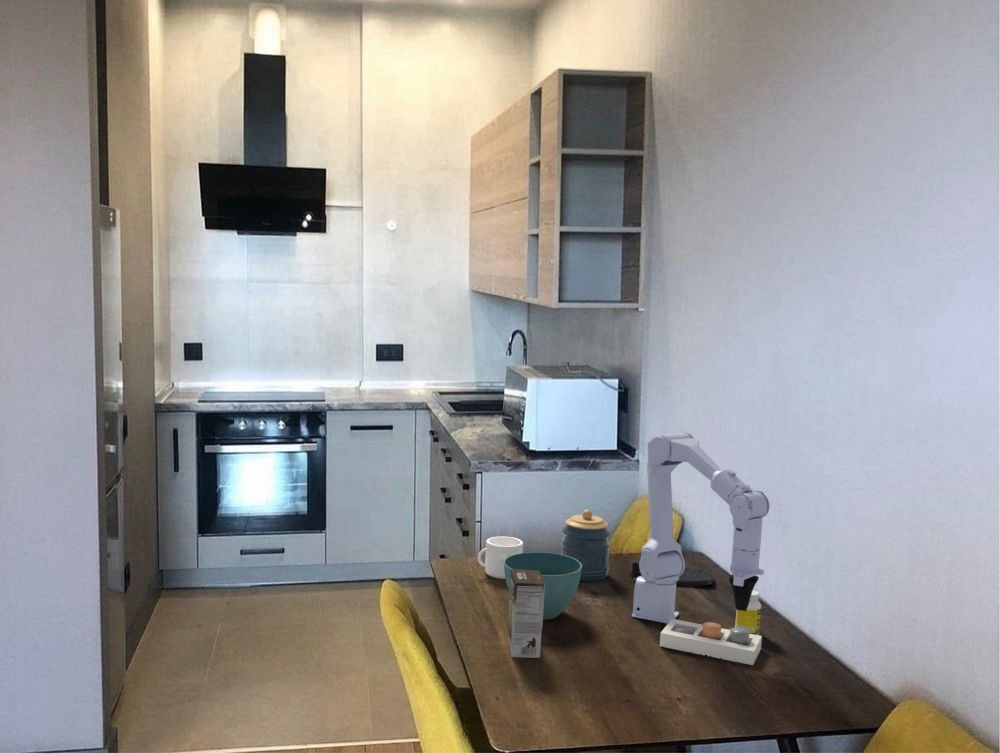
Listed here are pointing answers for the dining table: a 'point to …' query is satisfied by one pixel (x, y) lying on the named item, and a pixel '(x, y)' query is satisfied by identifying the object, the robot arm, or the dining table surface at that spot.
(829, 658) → the dining table surface
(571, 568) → the teal bowl
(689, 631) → the left grey button
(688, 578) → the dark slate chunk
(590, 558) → the canister
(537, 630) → the coffee box
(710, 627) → the orange rounded dome
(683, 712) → the dining table surface
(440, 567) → the dining table surface
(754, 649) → the button panel
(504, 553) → the mug
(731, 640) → the right grey button
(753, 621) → the supplement bottle
